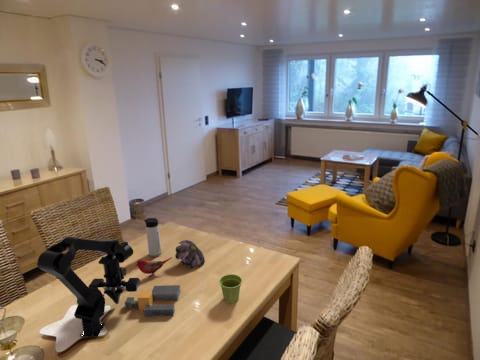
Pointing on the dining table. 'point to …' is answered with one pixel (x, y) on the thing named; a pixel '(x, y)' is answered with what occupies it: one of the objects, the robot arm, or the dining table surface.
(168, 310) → the grey rectangular blocks
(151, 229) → the travel mug
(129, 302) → the plug
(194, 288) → the dining table surface
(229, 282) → the plant pot
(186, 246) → the decorative flower
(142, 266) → the decorative bird figurine
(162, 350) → the dining table surface
